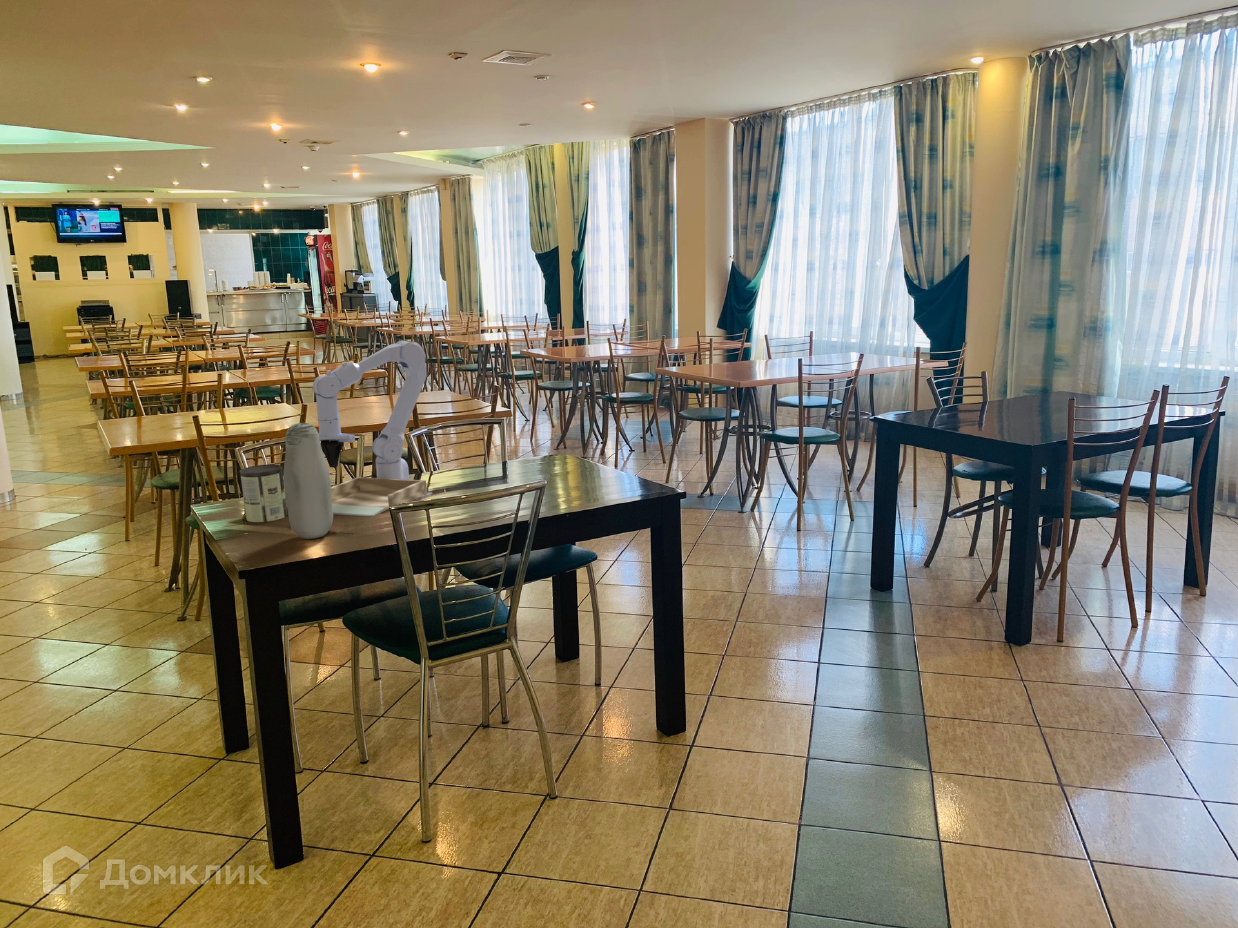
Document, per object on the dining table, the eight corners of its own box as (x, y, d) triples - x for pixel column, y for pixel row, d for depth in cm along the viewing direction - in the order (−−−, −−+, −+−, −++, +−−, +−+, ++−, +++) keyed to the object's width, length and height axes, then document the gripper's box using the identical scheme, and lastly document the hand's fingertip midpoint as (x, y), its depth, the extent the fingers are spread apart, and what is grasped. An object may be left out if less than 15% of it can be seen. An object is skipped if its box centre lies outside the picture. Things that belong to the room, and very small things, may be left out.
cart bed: (359, 493, 258) (357, 477, 257) (427, 497, 250) (425, 480, 249) (322, 509, 242) (320, 491, 241) (393, 513, 235) (391, 495, 234)
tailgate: (324, 503, 240) (307, 512, 234) (385, 507, 234) (370, 516, 228) (325, 508, 240) (308, 516, 234) (386, 512, 234) (371, 521, 228)
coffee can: (263, 515, 238) (256, 463, 235) (296, 516, 235) (290, 464, 232) (237, 525, 228) (230, 472, 225) (271, 527, 225) (265, 473, 222)
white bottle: (297, 532, 220) (284, 420, 214) (339, 530, 220) (328, 419, 214) (285, 544, 210) (272, 427, 204) (329, 542, 211) (317, 425, 205)
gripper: (297, 420, 246) (303, 468, 249) (342, 422, 242) (346, 470, 244) (314, 416, 253) (319, 463, 256) (357, 417, 248) (362, 465, 251)
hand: (333, 466), depth 250 cm, fingers closed
